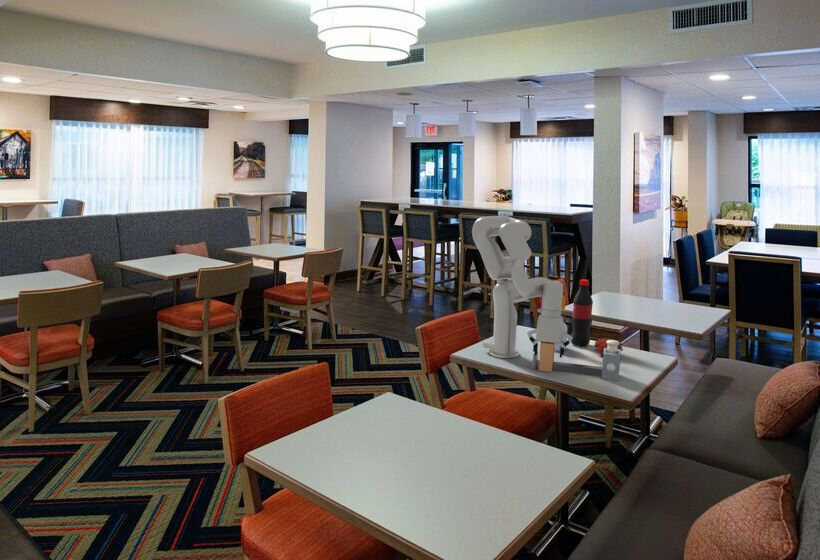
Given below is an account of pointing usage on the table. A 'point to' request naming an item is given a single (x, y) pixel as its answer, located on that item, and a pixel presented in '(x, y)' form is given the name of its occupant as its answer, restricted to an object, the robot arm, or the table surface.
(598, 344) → the dragon fruit
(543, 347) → the wooden block
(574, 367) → the rail
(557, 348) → the soap bottle
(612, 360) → the grey boxy piece
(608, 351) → the plunger
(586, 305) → the cola bottle
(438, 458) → the table surface
